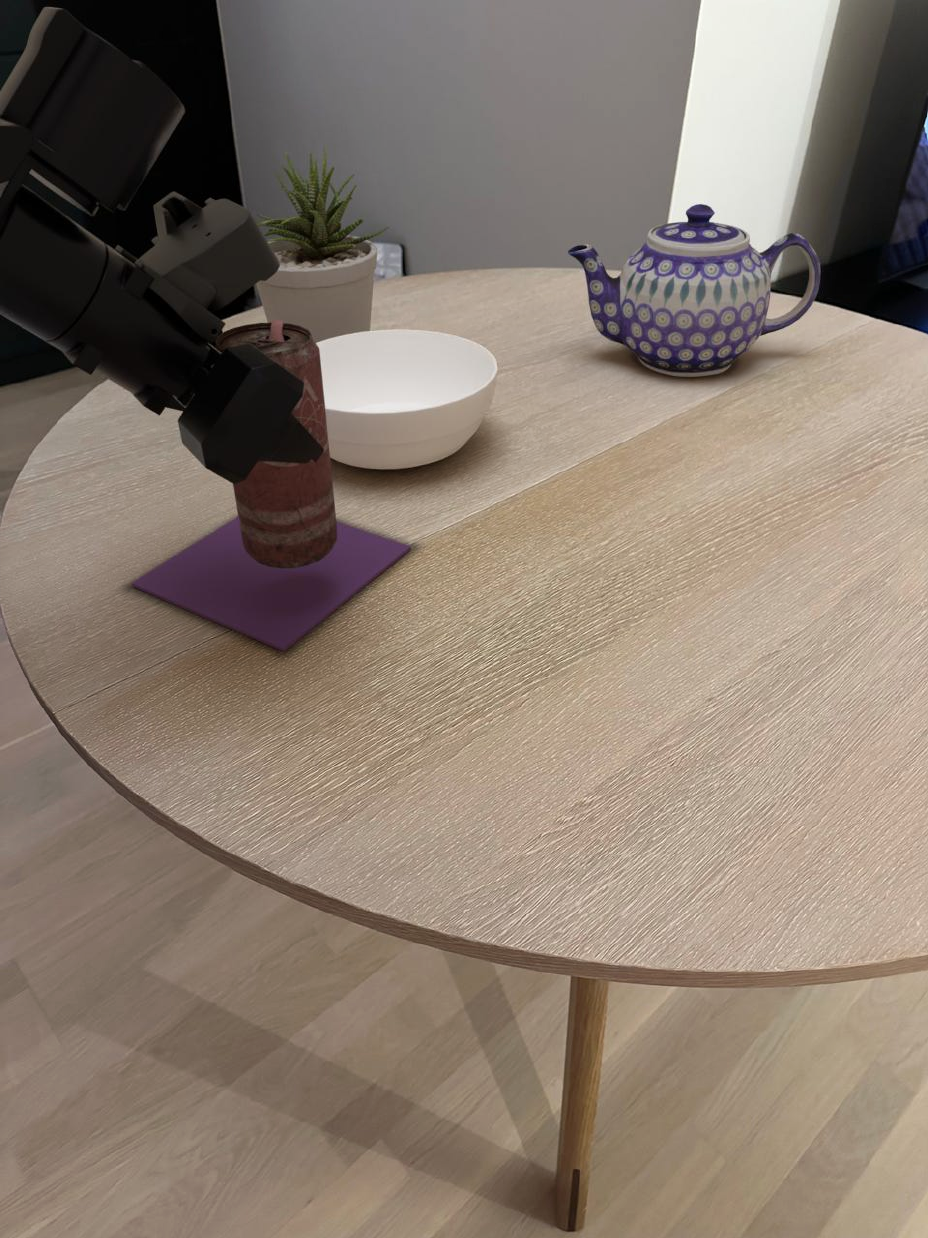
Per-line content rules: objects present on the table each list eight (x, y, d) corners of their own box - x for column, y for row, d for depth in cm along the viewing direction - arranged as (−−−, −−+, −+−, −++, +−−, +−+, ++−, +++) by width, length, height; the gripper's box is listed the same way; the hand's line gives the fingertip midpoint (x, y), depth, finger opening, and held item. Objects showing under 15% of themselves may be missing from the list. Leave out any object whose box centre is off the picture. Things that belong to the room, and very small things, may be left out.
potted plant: (417, 368, 96) (407, 155, 84) (296, 400, 90) (266, 175, 78) (358, 333, 104) (341, 135, 92) (244, 361, 98) (210, 153, 86)
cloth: (132, 586, 65) (131, 583, 65) (268, 501, 74) (267, 497, 74) (283, 652, 59) (283, 648, 59) (411, 549, 68) (410, 546, 68)
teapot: (788, 332, 102) (817, 185, 93) (823, 388, 90) (861, 225, 81) (559, 332, 104) (566, 187, 95) (564, 386, 91) (572, 226, 82)
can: (340, 519, 64) (321, 315, 56) (335, 569, 59) (312, 352, 50) (252, 522, 64) (219, 317, 55) (238, 572, 58) (200, 355, 50)
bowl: (260, 430, 85) (248, 353, 80) (438, 389, 91) (435, 315, 87) (337, 519, 72) (327, 433, 67) (537, 463, 79) (540, 381, 74)
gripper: (235, 185, 39) (458, 380, 50) (106, 126, 52) (308, 292, 63) (91, 405, 40) (341, 546, 52) (-1, 294, 53) (216, 428, 64)
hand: (300, 440), depth 58 cm, fingers closed on can, 5 cm apart
